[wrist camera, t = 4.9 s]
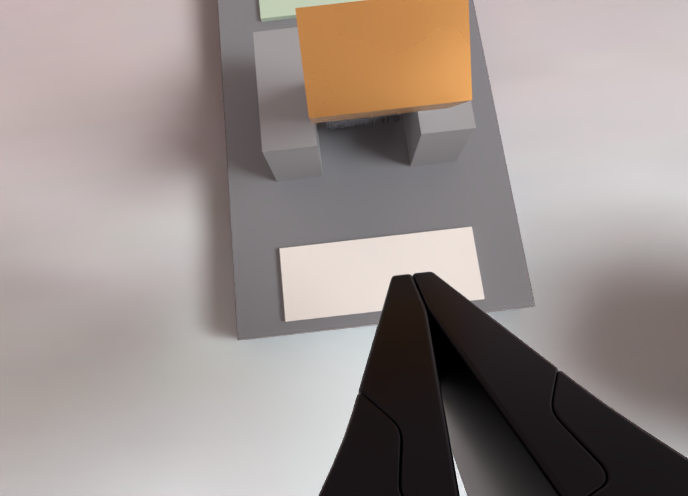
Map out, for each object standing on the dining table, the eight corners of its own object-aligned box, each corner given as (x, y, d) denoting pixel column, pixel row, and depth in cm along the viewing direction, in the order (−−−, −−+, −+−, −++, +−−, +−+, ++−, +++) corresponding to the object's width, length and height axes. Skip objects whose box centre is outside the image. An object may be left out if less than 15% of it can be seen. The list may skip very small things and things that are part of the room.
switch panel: (520, 308, 18) (573, 300, 14) (247, 339, 18) (213, 341, 14) (453, -37, 22) (478, -130, 18) (224, -11, 22) (192, -98, 18)
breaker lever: (402, 124, 18) (471, 100, 9) (320, 133, 18) (308, 118, 9) (398, 71, 18) (468, -11, 9) (314, 80, 18) (295, 8, 9)
